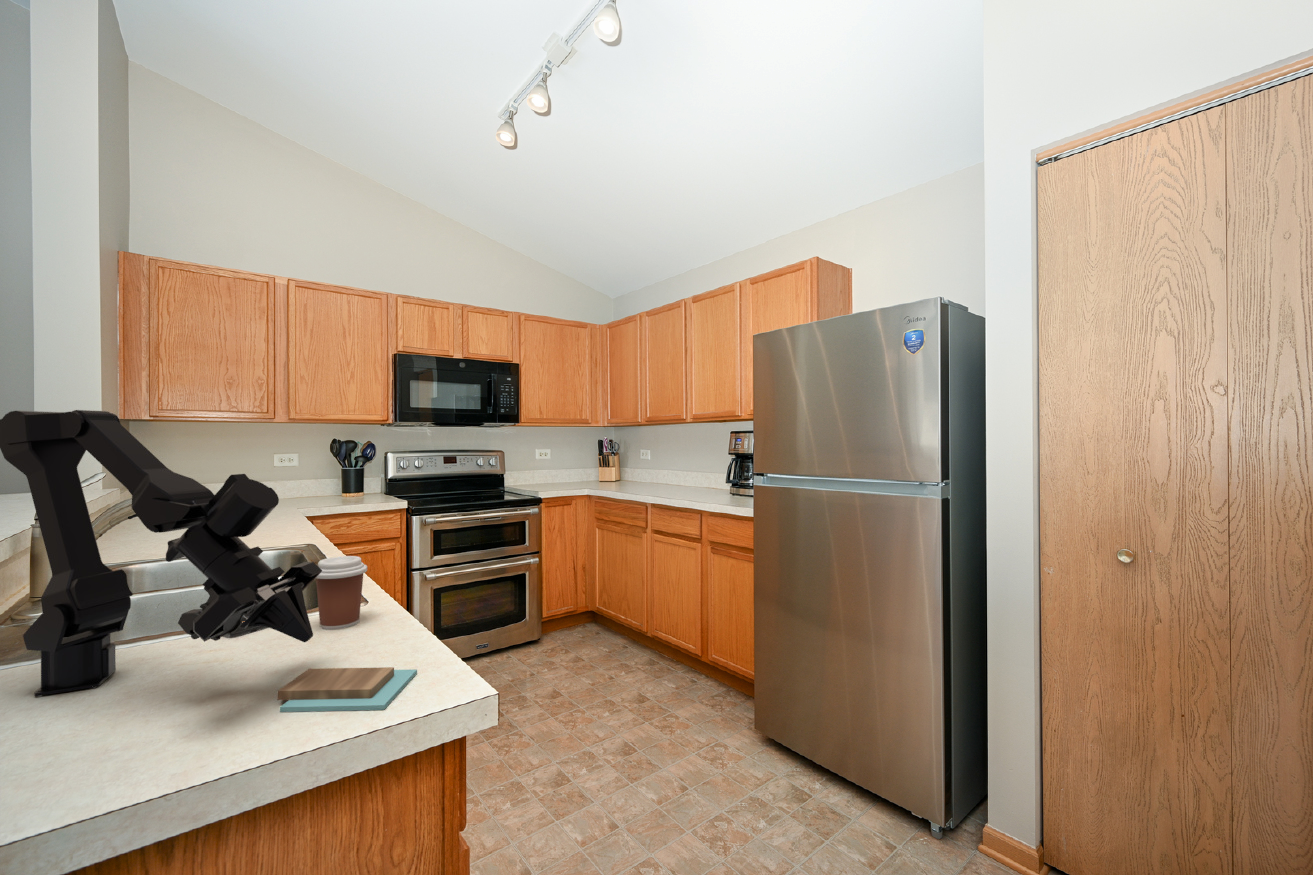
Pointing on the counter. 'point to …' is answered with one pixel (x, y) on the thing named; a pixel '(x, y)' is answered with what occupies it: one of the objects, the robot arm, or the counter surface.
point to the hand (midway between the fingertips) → (309, 639)
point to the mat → (374, 703)
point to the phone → (244, 630)
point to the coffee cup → (340, 591)
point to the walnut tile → (336, 683)
